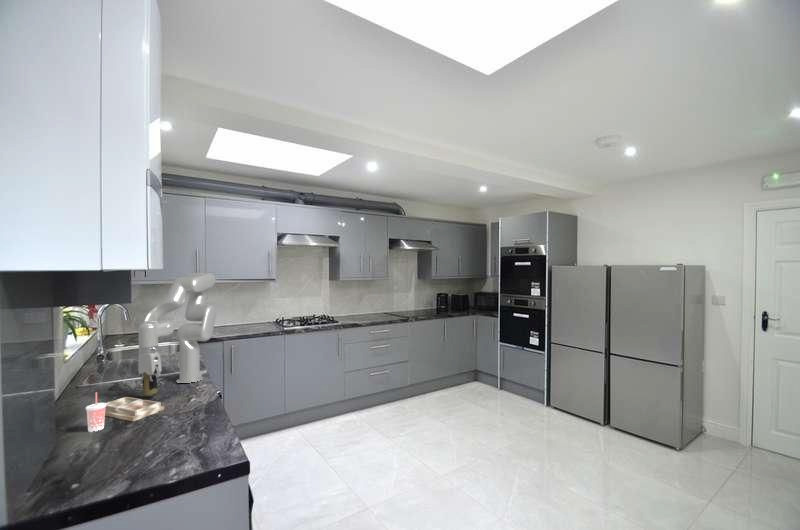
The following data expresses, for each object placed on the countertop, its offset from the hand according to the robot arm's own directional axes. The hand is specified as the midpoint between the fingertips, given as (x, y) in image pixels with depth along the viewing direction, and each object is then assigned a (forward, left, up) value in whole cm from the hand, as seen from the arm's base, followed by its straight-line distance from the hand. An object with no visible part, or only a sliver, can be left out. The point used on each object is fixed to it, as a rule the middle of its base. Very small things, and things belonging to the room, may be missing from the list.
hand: (149, 387), depth 169 cm
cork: (0, 0, -2) cm, 2 cm away
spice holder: (+14, +8, -5) cm, 17 cm away
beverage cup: (+30, +14, -5) cm, 34 cm away
